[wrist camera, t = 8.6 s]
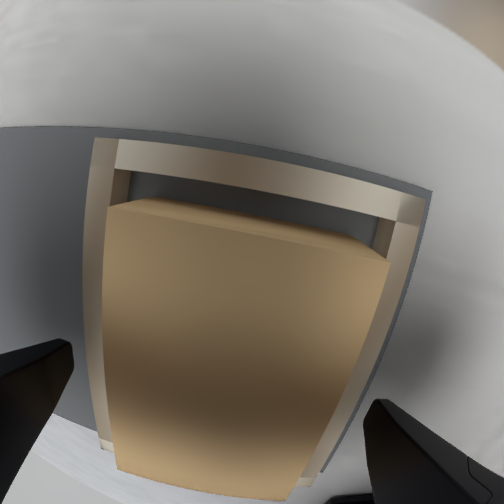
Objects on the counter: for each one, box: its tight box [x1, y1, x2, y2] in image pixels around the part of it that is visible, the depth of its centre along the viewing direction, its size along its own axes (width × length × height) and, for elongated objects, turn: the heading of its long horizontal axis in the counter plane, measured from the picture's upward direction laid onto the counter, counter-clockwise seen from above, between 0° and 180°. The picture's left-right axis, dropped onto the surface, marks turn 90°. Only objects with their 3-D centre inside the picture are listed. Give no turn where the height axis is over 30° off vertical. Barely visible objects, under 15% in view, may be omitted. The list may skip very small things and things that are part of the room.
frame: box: [82, 137, 426, 487], centre depth 9 cm, size 9×12×1 cm
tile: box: [102, 196, 391, 501], centre depth 8 cm, size 9×6×3 cm, turn 169°
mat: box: [0, 126, 432, 472], centre depth 10 cm, size 22×13×1 cm, turn 79°
